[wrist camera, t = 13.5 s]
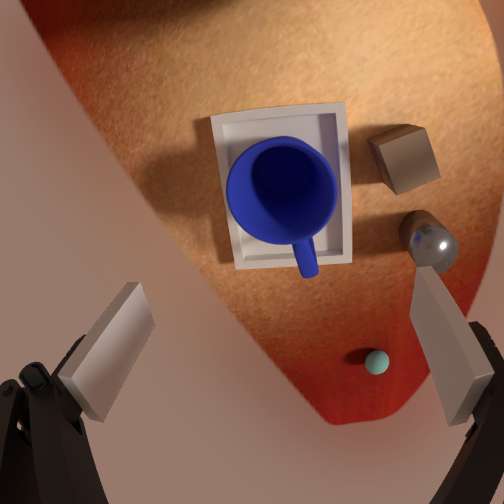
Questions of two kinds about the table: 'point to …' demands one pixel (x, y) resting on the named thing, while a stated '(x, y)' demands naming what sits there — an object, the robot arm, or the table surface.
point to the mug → (283, 195)
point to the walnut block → (404, 158)
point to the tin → (428, 241)
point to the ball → (377, 362)
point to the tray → (317, 136)
